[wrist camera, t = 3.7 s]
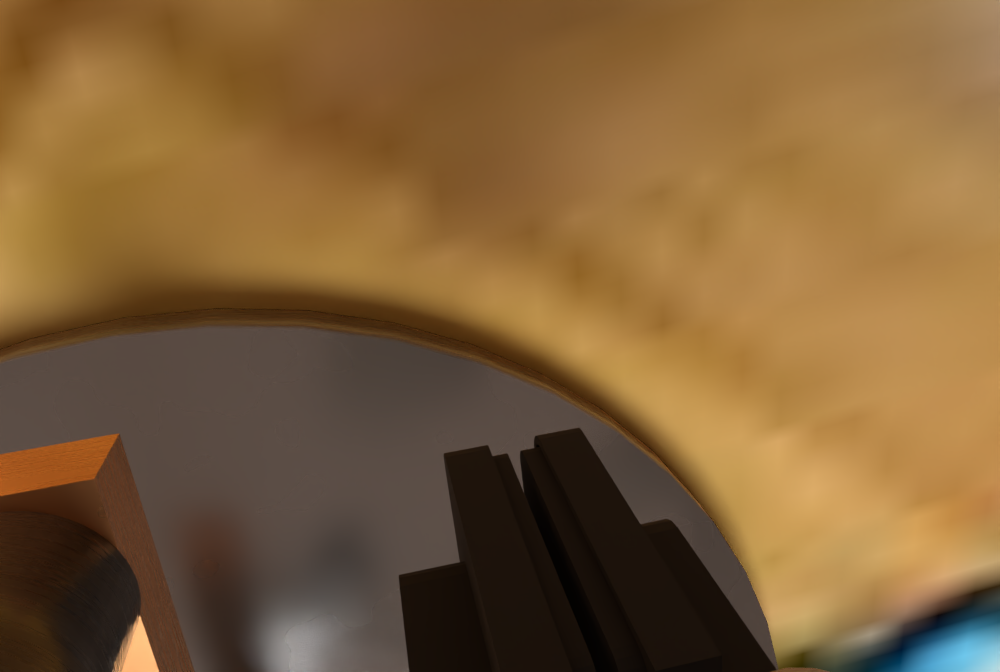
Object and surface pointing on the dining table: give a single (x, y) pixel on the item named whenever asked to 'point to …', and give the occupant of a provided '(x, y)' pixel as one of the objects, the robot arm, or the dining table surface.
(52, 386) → the dark gray metal disc
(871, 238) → the dining table surface
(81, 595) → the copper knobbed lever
